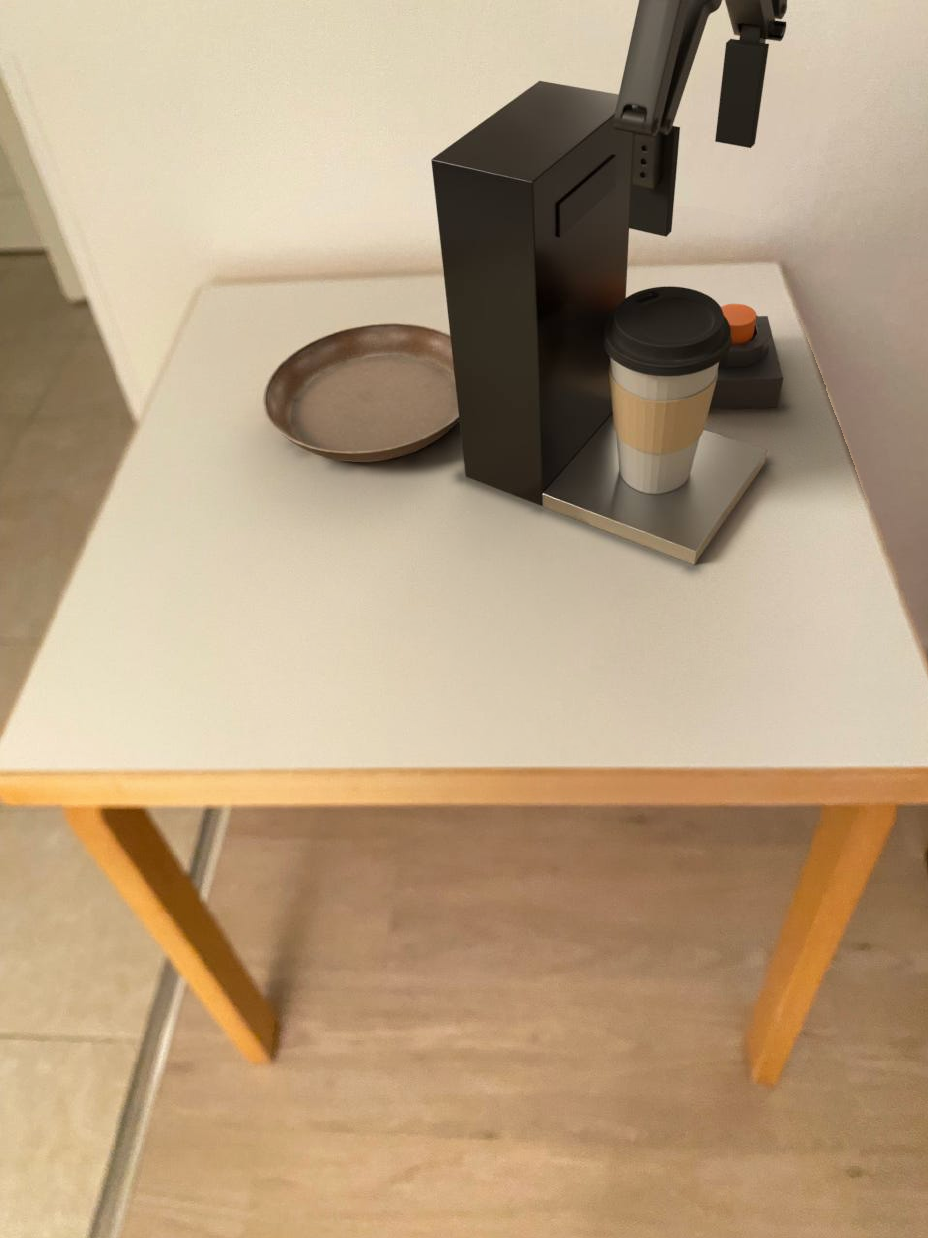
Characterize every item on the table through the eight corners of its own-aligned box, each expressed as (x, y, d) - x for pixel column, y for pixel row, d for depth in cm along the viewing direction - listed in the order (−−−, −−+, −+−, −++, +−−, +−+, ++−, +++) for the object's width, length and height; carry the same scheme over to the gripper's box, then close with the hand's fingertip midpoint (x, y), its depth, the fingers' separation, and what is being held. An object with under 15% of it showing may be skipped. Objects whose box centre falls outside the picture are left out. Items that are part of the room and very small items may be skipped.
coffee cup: (633, 423, 87) (642, 268, 75) (731, 458, 83) (757, 299, 71) (578, 485, 82) (579, 329, 71) (679, 524, 78) (698, 366, 67)
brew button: (755, 344, 88) (759, 324, 86) (715, 346, 88) (717, 326, 86) (750, 322, 90) (753, 302, 88) (711, 323, 90) (713, 303, 89)
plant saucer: (288, 352, 101) (281, 324, 99) (486, 342, 99) (483, 313, 97) (253, 485, 88) (244, 457, 85) (481, 476, 86) (478, 447, 84)
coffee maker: (764, 463, 84) (830, 129, 63) (694, 565, 77) (740, 228, 56) (546, 391, 93) (539, 79, 72) (465, 476, 86) (430, 158, 65)
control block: (777, 407, 89) (787, 360, 85) (688, 410, 90) (694, 364, 86) (762, 344, 95) (770, 298, 91) (679, 347, 96) (684, 302, 92)
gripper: (759, -270, 58) (718, 103, 74) (550, -164, 45) (555, 258, 61) (886, -271, 55) (814, 119, 71) (699, -157, 42) (664, 285, 58)
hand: (694, 184), depth 66 cm, fingers open, 13 cm apart
